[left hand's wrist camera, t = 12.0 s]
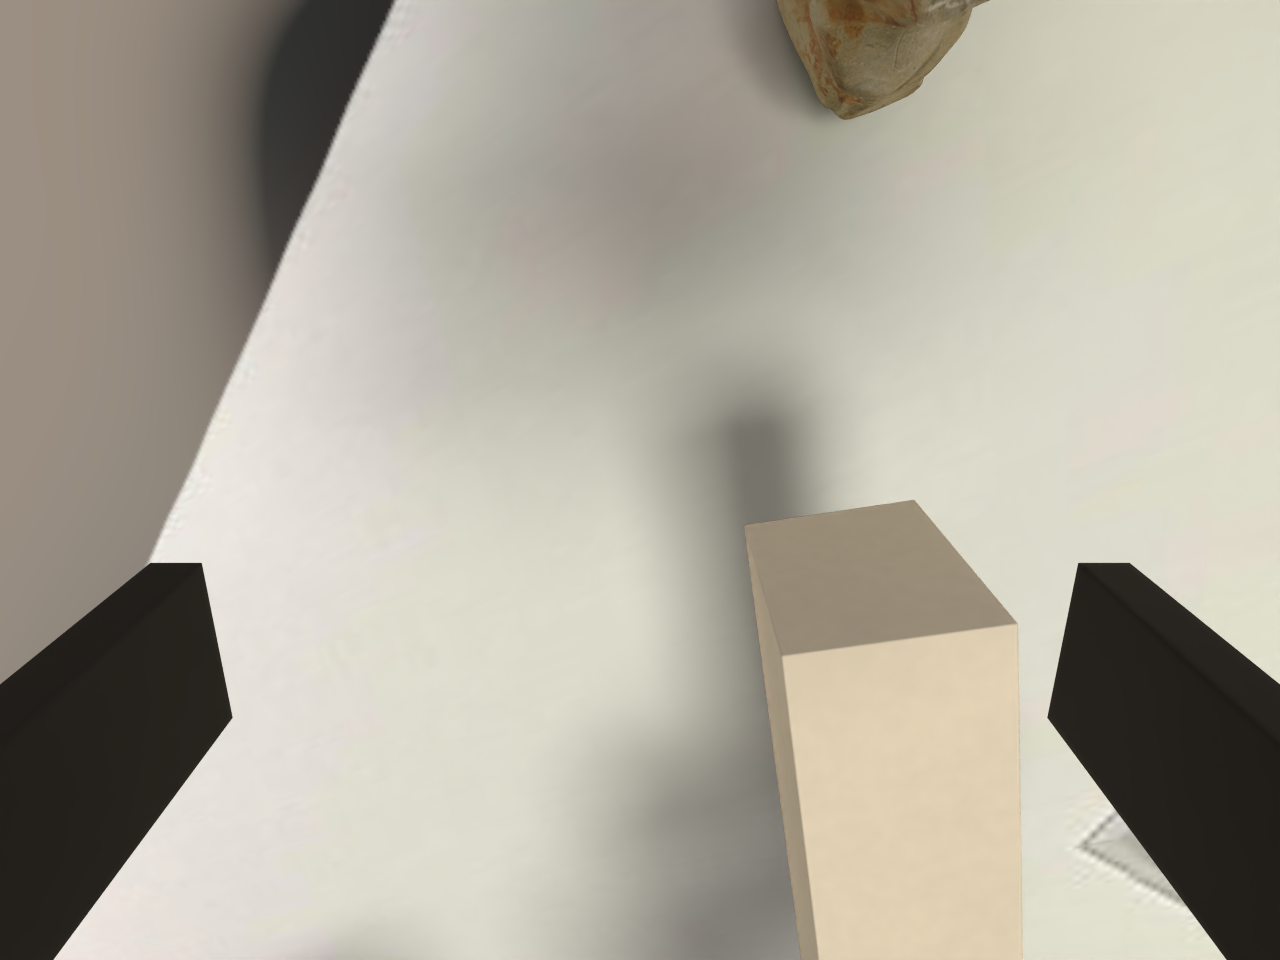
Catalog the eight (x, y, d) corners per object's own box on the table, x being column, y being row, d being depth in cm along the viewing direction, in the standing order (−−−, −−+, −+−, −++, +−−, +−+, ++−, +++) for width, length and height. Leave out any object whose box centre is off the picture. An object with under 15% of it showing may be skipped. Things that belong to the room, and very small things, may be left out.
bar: (743, 524, 29) (781, 656, 21) (914, 499, 29) (1019, 623, 21) (812, 1042, 38) (857, 1277, 30) (945, 1027, 37) (1027, 1261, 29)
